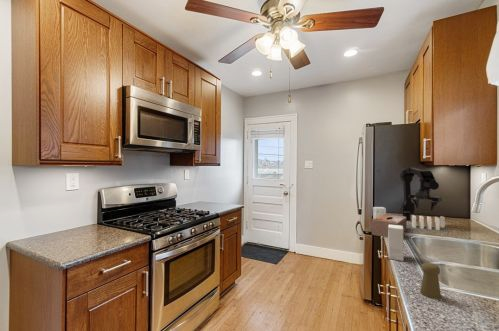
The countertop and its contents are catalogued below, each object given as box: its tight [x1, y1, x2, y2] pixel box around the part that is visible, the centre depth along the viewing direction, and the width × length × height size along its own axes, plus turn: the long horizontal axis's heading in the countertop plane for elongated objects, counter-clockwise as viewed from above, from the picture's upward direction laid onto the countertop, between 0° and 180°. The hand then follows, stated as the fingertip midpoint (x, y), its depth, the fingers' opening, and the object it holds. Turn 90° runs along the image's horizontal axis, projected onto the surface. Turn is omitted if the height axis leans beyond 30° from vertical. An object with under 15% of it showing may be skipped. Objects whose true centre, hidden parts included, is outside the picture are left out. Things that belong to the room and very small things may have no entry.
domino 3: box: [434, 216, 441, 230], centre depth 166 cm, size 2×5×8 cm, turn 155°
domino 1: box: [418, 215, 425, 230], centre depth 170 cm, size 2×5×8 cm, turn 155°
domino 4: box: [439, 215, 446, 228], centre depth 172 cm, size 2×5×8 cm, turn 154°
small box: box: [372, 206, 387, 219], centre depth 195 cm, size 8×6×10 cm
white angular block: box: [411, 214, 417, 228], centre depth 172 cm, size 2×5×8 cm, turn 155°
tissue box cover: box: [371, 213, 407, 238], centre depth 161 cm, size 26×14×10 cm, turn 135°
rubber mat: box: [406, 224, 451, 233], centre depth 169 cm, size 10×26×1 cm, turn 65°
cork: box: [419, 262, 442, 300], centre depth 85 cm, size 6×6×11 cm
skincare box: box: [387, 224, 405, 262], centre depth 119 cm, size 8×7×16 cm
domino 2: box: [426, 216, 433, 229], centre depth 168 cm, size 2×5×8 cm, turn 155°
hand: (424, 209), depth 170 cm, fingers open, 9 cm apart
